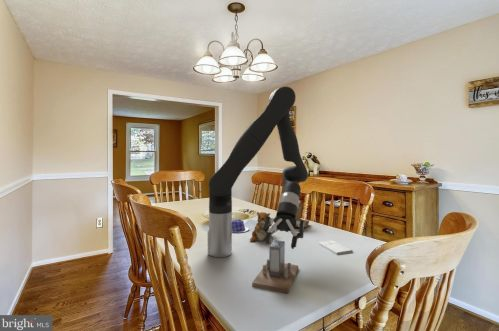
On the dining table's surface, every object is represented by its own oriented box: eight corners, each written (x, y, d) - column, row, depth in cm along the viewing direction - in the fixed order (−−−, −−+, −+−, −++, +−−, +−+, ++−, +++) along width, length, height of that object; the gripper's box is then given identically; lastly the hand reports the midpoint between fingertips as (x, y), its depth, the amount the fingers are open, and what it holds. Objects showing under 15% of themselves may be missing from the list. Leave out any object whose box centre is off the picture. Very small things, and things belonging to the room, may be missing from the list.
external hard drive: (336, 256, 102) (318, 245, 114) (352, 253, 105) (333, 243, 116) (336, 252, 102) (318, 242, 113) (352, 249, 105) (333, 239, 116)
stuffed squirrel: (249, 242, 115) (249, 214, 115) (254, 232, 129) (254, 207, 128) (270, 244, 113) (271, 215, 113) (274, 234, 127) (274, 208, 126)
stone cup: (280, 228, 137) (280, 201, 136) (282, 222, 148) (283, 197, 148) (308, 230, 133) (309, 202, 132) (309, 224, 145) (309, 198, 144)
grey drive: (274, 268, 87) (274, 240, 86) (284, 270, 85) (284, 241, 85) (269, 276, 81) (269, 246, 80) (279, 278, 80) (280, 247, 79)
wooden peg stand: (268, 263, 93) (268, 252, 93) (298, 268, 89) (298, 257, 89) (252, 286, 77) (252, 272, 77) (287, 293, 73) (287, 279, 73)
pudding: (241, 225, 143) (241, 216, 142) (253, 231, 132) (253, 221, 132) (222, 229, 136) (222, 219, 136) (233, 235, 126) (233, 225, 126)
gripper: (268, 199, 97) (258, 238, 87) (306, 202, 91) (299, 243, 81) (272, 210, 102) (262, 247, 92) (307, 213, 97) (302, 253, 86)
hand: (280, 245), depth 87 cm, fingers open, 8 cm apart
